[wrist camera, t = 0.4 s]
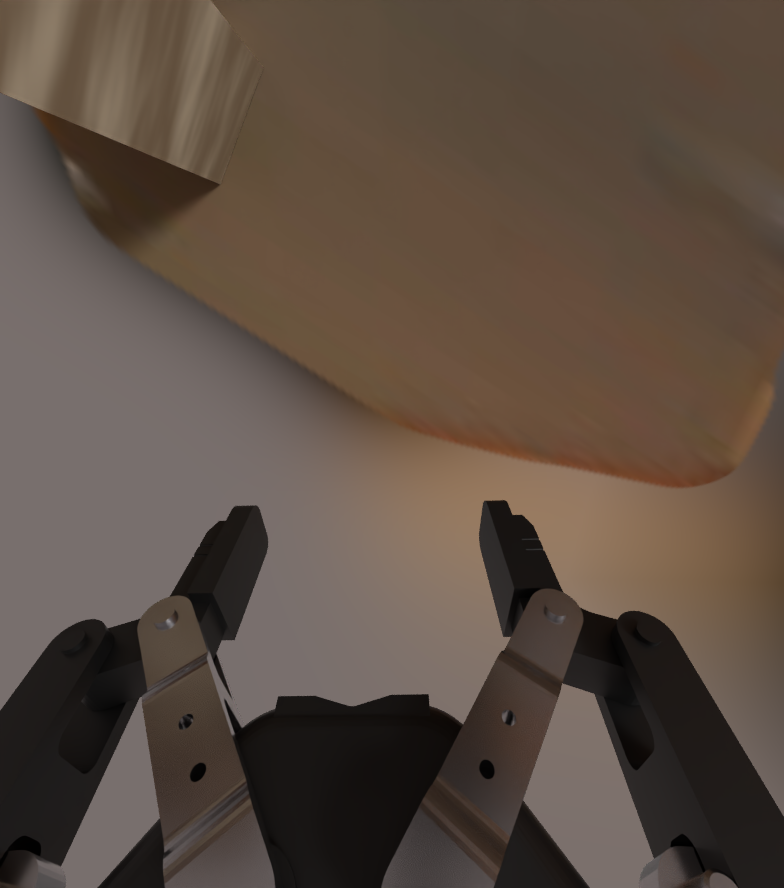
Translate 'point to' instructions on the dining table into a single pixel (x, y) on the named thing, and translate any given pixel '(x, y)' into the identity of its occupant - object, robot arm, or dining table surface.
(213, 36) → the stand
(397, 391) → the dining table surface
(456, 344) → the dining table surface
